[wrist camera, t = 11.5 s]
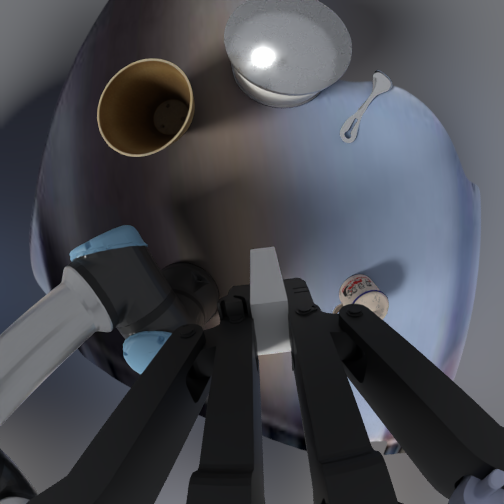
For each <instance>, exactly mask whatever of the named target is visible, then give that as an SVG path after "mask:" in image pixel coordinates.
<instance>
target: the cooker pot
mask: <svg viewBox="0 0 504 504" xmlns="http://www.w3.org/2000/svg"><path fill="white" fill-rule="evenodd" d="M231 66H232V72H233V76H234V78H235V81H236V83H237V84H238V86H239V87H240V89H241V90H242V91H243V92H244V93H245V94H246V95H247V96H249V97H250V98H251V99H253V100H255V101H256V102H259V103H261V104H263V105H266V106H270V107H275V108H291V107H296V106H300V105H303V104H305V103H307V102H309V101H311V100H312V99H313V98H315V97H316V96H317V95H318V94H319V93H320V92H321V91H319V92H316V93H313V94H308V95H300V96H288V95H280V94H276V93H272V92H269V91H266V90H263V89H261V88H259V87H257V86H255V85H254V84H252V83H250V82H249V81H247V80H246V79H245V78H244V77H242V76H241V75H240V74H239V73H238V72H237V70H236V69H235V68H234V66H233V65H232V63H231Z"/></svg>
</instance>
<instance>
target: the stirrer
mask: <svg viewBox="0 0 504 504" xmlns="http://www.w3.org/2000/svg"><path fill="white" fill-rule="evenodd" d="M391 88H392V81H391V80H390V78H389V77H388V76H387V75H386V74H384V73H383V72H382V71H380V70H377V71H375V72H374V75H373V89H372V93H371V95H370V96H369V98H368V99H367V100H366V101H365V103H364V104H363V105H362V106H361V107H360V108H359V109H358V111H357V112H356V113H355V114H354V115H352V116H351V117H349V118H348V119H347V120H346V122H345V123H344V124H343V126H342V127H341V130H340V137H341V139H342V141H343V142H345V143H352V142H353V141H354V140H355V138H356V135H357V133H358V129H359V126H360V121H361V118H362V115H363V114H364V112H365V110H366V109H367V107H368V105H369V104H370V102H371V101H372V100H373V99H374V98H375V97H376V96H377V95H378V94H380V93H383V92H386V91H389V90H390V89H391ZM355 118H356V119H357V122H356V124H355V125H354V127H353V129H352V131H351V133H350V134H351V137H350V138H349V139H347V138H346V137H345V135H344V134H345V132H346V131H348V130H349V128H350V126H351V124H352V123H353V121H354V119H355Z"/></svg>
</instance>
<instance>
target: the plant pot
mask: <svg viewBox="0 0 504 504" xmlns="http://www.w3.org/2000/svg"><path fill="white" fill-rule="evenodd" d="M167 105H168V107H167ZM194 108H195V106H194V96H193V92H192V88H191V85H190V82H189V80H188V78H187V76H186V75H185V73H184V72H183V71H182V70H181V69H180V68H179V67H178V66H176V65H175V64H173V63H171V62H169V61H166V60H162V59H144V60H139V61H136V62H134V63H132V64H130V65H128V66H126V67H124V68H123V69H122V70H120V71H119V72H118V73H117V74H116V75H115V76H114V77H113V78H112V79H111V80H110V81H109V83H108V84H107V86H106V87H105V89H104V91H103V93H102V95H101V98H100V101H99V105H98V113H97V119H98V126H99V129H100V132H101V135H102V137H103V138H104V140H105V141H106V143H107V144H108V145H109V146H110V147H111V148H112V149H114V150H115V151H117V152H119V153H121V154H124V155H127V156H133V157H140V156H147V155H150V154H153V153H156V152H158V151H160V150H162V149H164V148H166V147H168V146H170V145H171V144H173V143H174V142H176V141H177V140H178V139H179V138H181V137H182V136H183V135H184V133H185V132H186V131H187V130H188V128H189V126H190V124H191V122H192V119H193V116H194ZM182 118H184V119H182ZM163 126H164V128H162V127H163Z"/></svg>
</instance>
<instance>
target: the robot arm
mask: <svg viewBox="0 0 504 504" xmlns="http://www.w3.org/2000/svg"><path fill="white" fill-rule="evenodd" d="M147 247H148V246H147V244H146V243H144V241H143V240H142V238H141V237H140V235H139V233H138V232H137V230H136V229H135V228H134V227H133V226H130V225H123V226H120V227H117V228H115V229H112V230H110V231H107V232H105V233H103V234H101V235H99V236H97V237H95V238H93V239H91V240H90V241H88V242H86V243H84V244H82V245H80V246H78V247H77V248H75V249H74V250H72V251H71V252H70V259H71V261H72V263H70V264H69V265H68V266H66V267H65V268H64V271H63V277H62V282H61V284H59V285H58V286H57V287H56V288H54V289H53V290H52V291H51V292H49V293H48V294H47V295H46V296H44V297H43V298H42V299H41V300H40V301H39V302H37V303H36V304H35V305H34V306H32V307H31V308H30V309H29V310H28V311H27V312H26V313H24V314H23V315H22V316H21V317H20V318H19V319H17V320H16V321H15V322H14V323H13V324H12V325H11V326H10V327H8V328H7V329H6V330H5V331H4V332H3V333H2V334H1V335H0V426H1V425H2V424H3V423H4V422H5V421H6V420H7V419H8V418H9V416H10V415H11V414H12V413H13V412H14V411H15V410H16V409H17V408H18V407H19V406H20V405H21V404H22V403H23V401H25V400H26V398H27V397H28V396H29V395H30V394H31V393H32V392H33V391H34V390H35V389H36V388H37V387H38V386H39V385H40V384H41V383H42V382H43V381H44V380H45V379H46V378H47V377H48V376H49V375H50V374H51V373H52V372H53V371H54V370H55V369H56V368H57V367H58V366H59V365H60V364H61V363H62V362H64V361H65V360H66V359H67V357H69V356H70V355H71V354H72V353H73V352H74V351H75V350H76V349H77V348H78V347H79V346H80V345H81V344H82V343H84V342H85V341H86V340H87V339H88V338H89V337H90V336H91V335H92V334H93V333H94V332H95V331H104V332H110V331H112V330H113V329H114V328H115V327H117V329H118V330H119V331H120V333H121V334H122V335H123V337H124V338H125V339H126V340H125V341H124V343H123V351H124V352H123V355H124V358H125V360H126V362H127V363H128V364H129V366H130V367H131V368H133V369H134V370H135V371H136V372H138V373H139V374H141V375H140V377H139V378H138V379H137V381H136V382H135V383H134V385H133V386H132V387H131V389H130V390H129V391H128V393H127V394H126V395H125V397H124V398H123V400H122V401H121V402H120V404H119V405H118V406H117V408H116V409H115V411H114V412H113V413H112V414H111V416H110V417H109V419H108V420H107V421H106V423H105V424H104V425H103V427H102V428H101V429H100V431H99V432H98V434H97V435H96V436H95V438H94V439H93V441H92V442H91V443H90V445H89V446H88V448H87V449H86V450H85V452H84V453H83V455H82V456H81V457H80V459H79V460H78V461H77V463H76V464H75V466H74V467H73V468H72V470H71V471H70V473H69V474H68V475H67V476H66V477H64V478H63V479H62V480H60V481H59V482H57V483H56V484H54V485H53V486H51V487H50V488H48V489H46V490H45V491H44V492H42V493H40V494H38V492H37V491H36V489H35V488H34V487H33V485H32V484H31V483H30V481H29V480H28V479H27V477H26V476H25V475H24V474H23V472H22V471H21V470H20V469H19V467H18V466H17V465H16V464H15V463H14V462H13V461H12V460H11V458H10V457H8V456H7V455H6V454H5V453H4V452H3V451H2V450H1V449H0V504H154V503H155V501H156V499H157V497H158V495H159V493H160V491H161V489H162V487H163V485H164V483H165V481H166V479H167V477H168V475H169V473H170V471H171V469H172V467H173V465H174V463H175V461H176V459H177V457H178V455H179V453H180V451H181V449H182V447H183V445H184V443H185V441H186V439H187V437H188V435H189V433H190V431H191V429H192V427H193V425H194V423H195V421H196V419H197V416H198V414H199V412H200V410H201V408H202V406H203V404H204V402H205V400H206V398H207V396H208V394H209V398H208V405H207V412H206V419H205V426H204V434H203V441H202V449H201V456H200V464H199V468H198V470H197V471H195V472H193V473H192V475H191V478H190V482H189V487H188V495H187V503H186V504H265V498H264V475H263V450H262V425H261V400H260V376H259V360H258V355H264V354H273V353H281V352H289V351H291V354H292V371H293V370H294V374H295V380H296V386H297V392H298V398H299V403H300V409H301V415H302V422H303V428H304V434H305V440H306V447H307V453H308V459H309V466H310V473H311V479H312V486H313V498H314V499H313V501H314V504H402V503H400V502H398V501H397V498H396V495H395V491H394V488H393V485H392V482H391V479H390V475H389V472H388V469H387V466H386V463H385V461H384V458H383V456H382V455H381V453H380V452H379V451H375V450H374V449H373V448H372V446H371V444H370V441H369V438H368V435H367V432H366V429H365V426H364V423H363V420H362V417H361V414H360V411H359V409H358V406H357V403H356V400H355V397H354V395H353V392H352V389H351V386H350V384H349V381H348V378H349V380H350V381H351V382H352V383H353V385H354V386H355V387H356V389H357V390H358V391H359V393H360V394H361V395H362V396H363V398H364V399H365V400H366V402H367V403H368V404H369V406H370V407H371V408H372V409H373V411H374V412H375V413H376V415H377V416H378V417H379V418H380V420H381V421H382V422H383V424H384V425H385V426H386V428H387V429H388V430H389V431H390V433H391V434H392V435H393V437H394V438H395V439H396V440H397V442H398V443H399V444H400V446H401V447H402V448H403V450H404V451H405V452H406V453H407V455H408V456H409V457H410V459H411V460H412V461H413V462H414V464H415V465H416V466H417V468H418V469H419V470H420V472H421V473H422V474H423V475H424V477H425V478H426V479H427V481H429V483H430V484H431V485H432V486H433V487H434V488H435V489H436V490H437V491H438V492H439V493H441V494H442V495H443V496H445V497H446V498H448V499H449V503H448V504H504V427H502V426H500V425H499V424H498V423H497V422H496V421H495V420H494V419H493V418H492V417H490V416H489V415H488V414H487V413H486V412H485V411H484V410H483V409H482V408H481V407H480V406H479V405H478V404H477V403H476V402H475V401H474V400H473V399H472V398H470V397H469V396H468V395H467V394H466V393H465V392H464V391H463V390H462V389H461V388H460V387H459V386H457V385H456V384H455V383H454V382H453V381H452V380H451V379H450V378H449V377H448V376H446V375H445V374H444V373H443V372H442V371H441V370H440V369H439V368H438V367H436V366H435V365H434V364H433V363H432V362H431V361H430V360H428V359H427V358H426V357H425V356H424V355H423V354H422V353H421V352H419V351H418V350H417V349H416V348H415V347H414V346H412V345H411V344H410V343H409V342H408V341H407V340H406V339H404V338H403V337H402V336H401V335H400V334H399V333H397V332H396V331H395V330H394V329H393V328H391V327H390V326H389V325H388V324H387V323H386V322H384V321H383V320H382V319H381V318H380V317H378V316H377V315H376V314H375V313H374V312H372V311H371V310H370V309H369V308H368V307H366V306H364V305H361V304H348V305H345V306H343V307H342V308H341V309H340V310H339V314H331V313H325V312H322V311H321V309H320V308H319V306H318V305H316V304H314V302H313V300H312V297H311V295H310V292H309V290H308V287H307V285H306V282H305V281H304V280H302V279H301V278H293V279H285V280H283V279H282V275H281V271H280V267H279V263H278V259H277V255H276V251H275V247H266V248H258V249H250V284H249V285H240V286H233V287H232V288H231V289H230V290H229V293H228V295H227V296H225V297H223V298H221V299H220V300H219V292H218V288H217V285H216V283H215V281H214V280H213V278H212V277H211V276H210V275H209V274H208V273H207V272H206V271H204V270H203V269H201V268H200V267H198V266H195V265H192V264H188V263H175V264H171V265H169V266H166V267H165V268H163V269H162V270H160V268H159V267H158V265H157V263H156V262H155V260H154V258H153V256H152V255H151V253H150V251H149V250H148V248H147ZM217 307H218V312H219V316H220V324H219V325H218V326H216V327H214V328H211V329H207V330H204V331H203V329H204V325H205V324H206V323H207V322H208V321H209V320H210V319H211V318H212V317H213V315H214V314H215V312H216V310H217ZM347 377H348V378H347Z"/></svg>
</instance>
